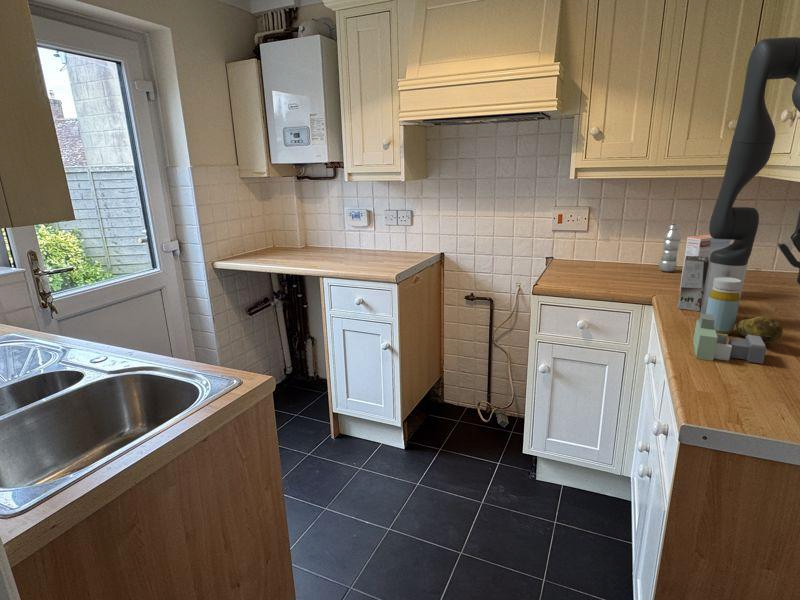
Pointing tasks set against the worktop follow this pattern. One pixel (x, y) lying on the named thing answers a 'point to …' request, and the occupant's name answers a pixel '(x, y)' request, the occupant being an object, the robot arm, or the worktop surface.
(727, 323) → the bottle
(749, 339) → the grey stepped block
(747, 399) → the worktop surface
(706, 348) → the green block cluster
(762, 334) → the potato
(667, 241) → the plastic bottle
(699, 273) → the coffee box
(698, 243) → the cracker box
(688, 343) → the worktop surface
